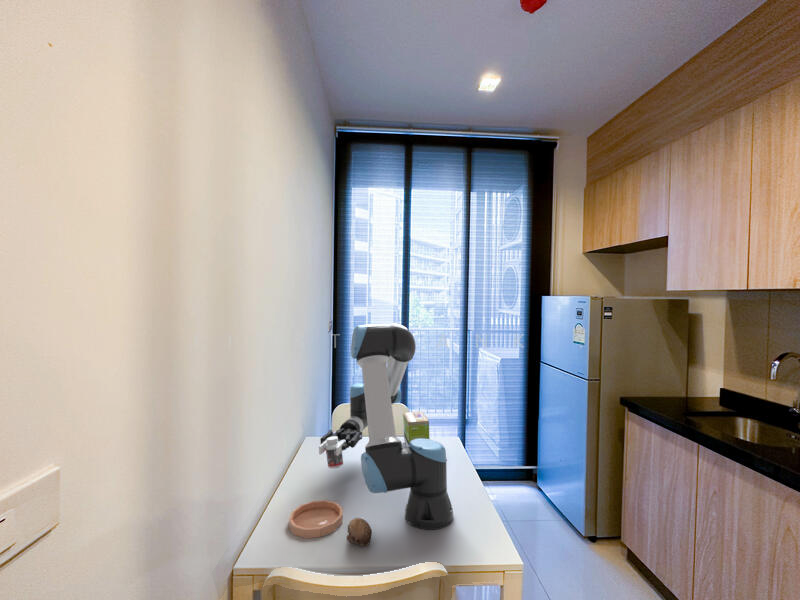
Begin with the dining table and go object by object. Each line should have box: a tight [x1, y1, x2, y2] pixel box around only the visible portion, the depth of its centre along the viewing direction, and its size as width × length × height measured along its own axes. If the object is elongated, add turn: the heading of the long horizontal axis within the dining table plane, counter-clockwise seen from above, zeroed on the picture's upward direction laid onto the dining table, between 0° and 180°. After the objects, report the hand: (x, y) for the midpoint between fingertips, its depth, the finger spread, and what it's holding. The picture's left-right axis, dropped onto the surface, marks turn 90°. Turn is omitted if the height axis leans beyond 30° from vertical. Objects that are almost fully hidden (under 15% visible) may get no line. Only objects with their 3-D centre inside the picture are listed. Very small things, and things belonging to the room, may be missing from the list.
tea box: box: [402, 411, 431, 447], centre depth 175 cm, size 15×10×15 cm
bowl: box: [288, 499, 344, 539], centre depth 115 cm, size 16×16×2 cm
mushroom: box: [346, 517, 373, 547], centre depth 105 cm, size 8×8×6 cm
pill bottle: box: [325, 436, 344, 469], centre depth 130 cm, size 5×5×10 cm
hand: (328, 450), depth 126 cm, fingers closed on pill bottle, 6 cm apart
